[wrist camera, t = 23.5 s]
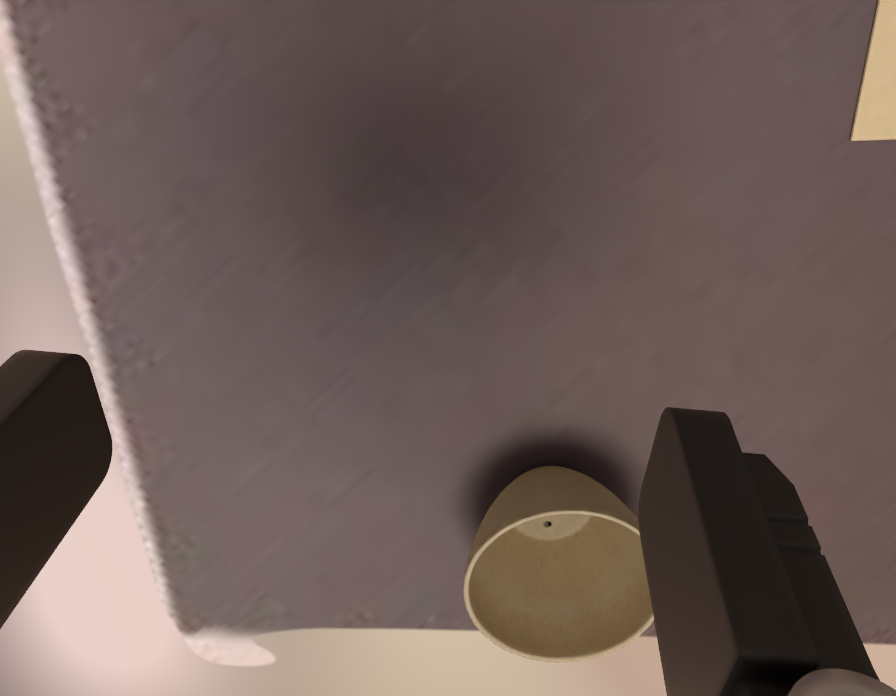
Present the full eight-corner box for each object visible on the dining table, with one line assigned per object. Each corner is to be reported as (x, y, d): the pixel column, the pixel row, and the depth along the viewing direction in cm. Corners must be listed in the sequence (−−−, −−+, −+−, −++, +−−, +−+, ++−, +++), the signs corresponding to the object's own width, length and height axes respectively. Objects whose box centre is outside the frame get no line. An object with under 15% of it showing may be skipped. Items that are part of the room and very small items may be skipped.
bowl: (479, 575, 44) (480, 673, 37) (450, 441, 39) (446, 525, 33) (641, 556, 43) (672, 653, 36) (630, 416, 38) (663, 498, 32)
